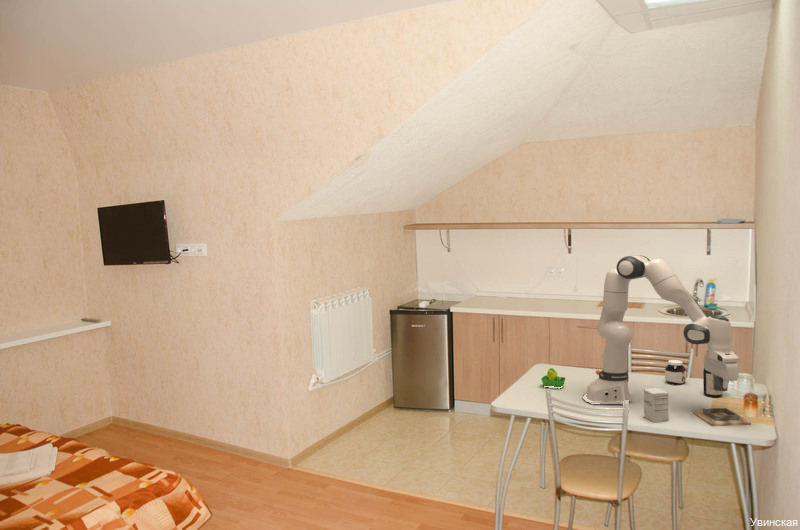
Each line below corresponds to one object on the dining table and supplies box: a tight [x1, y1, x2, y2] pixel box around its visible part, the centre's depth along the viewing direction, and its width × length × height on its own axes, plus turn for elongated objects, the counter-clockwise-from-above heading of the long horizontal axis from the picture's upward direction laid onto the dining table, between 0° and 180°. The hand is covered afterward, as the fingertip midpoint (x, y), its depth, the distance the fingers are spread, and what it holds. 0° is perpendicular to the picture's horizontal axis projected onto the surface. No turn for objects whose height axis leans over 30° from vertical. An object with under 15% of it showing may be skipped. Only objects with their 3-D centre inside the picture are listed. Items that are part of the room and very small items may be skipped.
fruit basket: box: [540, 367, 566, 387], centre depth 295 cm, size 11×9×11 cm
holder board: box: [692, 407, 752, 427], centre depth 238 cm, size 16×16×3 cm
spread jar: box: [664, 359, 687, 386], centre depth 295 cm, size 12×11×12 cm
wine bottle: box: [702, 367, 723, 398], centre depth 269 cm, size 8×8×30 cm
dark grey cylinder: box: [713, 376, 729, 392], centre depth 237 cm, size 5×5×5 cm
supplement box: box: [643, 387, 669, 423], centre depth 241 cm, size 7×7×13 cm
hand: (720, 385), depth 237 cm, fingers closed on dark grey cylinder, 5 cm apart
